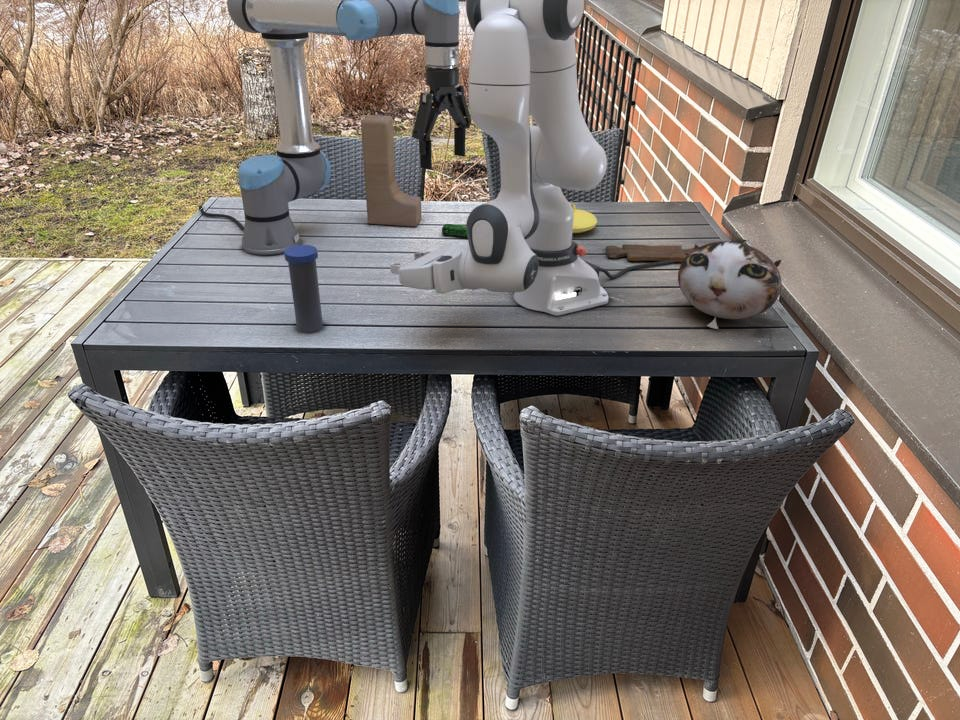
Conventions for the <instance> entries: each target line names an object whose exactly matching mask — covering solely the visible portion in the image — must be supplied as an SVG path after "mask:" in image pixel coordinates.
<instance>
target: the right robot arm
mask: <svg viewBox="0 0 960 720" xmlns="http://www.w3.org/2000/svg"><path fill="white" fill-rule="evenodd" d="M585 4H586V3H585V0H466V1H465V12H466V18H467V21H468V24H469V26H470V29H471V30H472V32H473V37H472V41H471V47H470V48H471V49H470V56H469V65H468V86H467V87H468V88H467V89H468V90H467V91H468V94H467V97H468V98H467V99H468V109H469V113H470V117H471V120H472V121H473V122H474V124H475V125H476V127H477V128H478V129H480V131H482V132H483V133H485V134H486V135H488V136H490V137H491V138H492V139H493V141H494V142H495V143H496V146H497V148H498V153H499V171H500V189H499V192H498V194H497V196H496V198H494V199H492V200H488V201H486V202H484V203H482V204H480V205H477V206H475V207H474V208H473V209H472V210H471V212H470V213H469V215H468V216H467V220H466V225H465V226H466V229H467V236H468V237H467V241H468V244H451V243H449V244H444V245H442V246H439V247H437V248H436V249H434V250H429V251H428V250H427V251H417V252H415V253H414V254H413V257H414V260H412V261H410V262H408V263H406V264H404V265H402V264H401V263H397V262H396V263H393V264H390V266H389V270H390V273H391V274H392V275H393V274H394V275H398V280H399V284H400V285H401V286H402V287H405V288H409V289H415V290H422V291H432V290H434V292H435V293H436V294H441V295H442V294H443V295H444V294H447V293H450V292H453V291H459V290H460V291H461V290H471V291H476V290H486V291H488V292H494V293H508V294H509V293H510V294H511V293H513V299H514V302H515V303H516V304H518V305H519V306H521V307H523V308H526V309H528V310H532V311H537V312H544V313H547V314H549V315H552V316H557V317H558V316H563V315H567V314H570V313H575V312H579V311H583V310H587V309H592V308H595V307H600V306H604V305H608V303H609V294H608V292H607V290H606V289H604V287H602V286H601V283H600V273H604V275H605V276H606V277H607V278H609V279H611V280H615V279H618V278H620V277H621V276H622V275H623V274H625V273H627V272H629V271H632V270H635V269H641V268H648V267H656V266H662V265H668V264H675V263H676V262H675V261H673V260H666V261H653V262H648V263H641V264H635V265H631V266H628V267H625V268H623V269H622V270H621V271H619V272H617V273H616V274H611V272H609V271H608V270H607V269H605V268H602V267H600V266H599V265H596V264H594V263H592V262H589V261H587V260H584V259H582V257H586V255H587V249H586V248H585V247H583V246H582V245H579V244H578V243H577V242H576V241H574V240H573V233H572V232H573V219H574V212H573V208H572V206H571V205H570V204H571V203H570V202H569V201H568V200H567V198H566V197H565V195H564V193H563V191H562V189H564V190H567V191H581V192H585V191H586V192H588V191H591V190H594V189H595V188H596V187H597V186H599V184H600V183H601V182H602V180H603V179H604V177H605V175H606V171H607V168H608V167H607V166H608V158H607V153H606V151H605V149H604V148H603V147H602V146H601V144H599V142H598V141H597V140H596V139H595V138H594V136H593V135H592V133H591V131H590V129H589V127H588V125H587V123H586V121H585V120H586V119H585V117H584V115H583V112H582V109H581V106H580V99H579V89H578V76H577V75H578V71H577V51H576V50H577V49H576V40H575V32H576V31H577V30H578V29H579V27H580V26H581V23H582V21H583V18H584V12H585ZM530 117H531V118H532V119H533V120H534V121H535V123H536V124H537V125H531V124H530V123H531V122H530ZM739 237H740V236H738V237H736V238H734V239H733V240H730V241H729V242H739V241H741V240H742V239H739Z"/></svg>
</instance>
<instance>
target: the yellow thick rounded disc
mask: <svg viewBox="0 0 960 720" xmlns="http://www.w3.org/2000/svg"><path fill="white" fill-rule="evenodd" d="M570 205H571V206H572V208H573V212H574V219H573V232H572V234H580V233H584V232H585V233H586V232H587V231H591V230H592V229H594V228H596V226H597V223H598V219H597V217H596V215H595V214H593V213H591V212H589V211H587V210H584V209H578V208H576V205H575V204H571V203H570Z"/></svg>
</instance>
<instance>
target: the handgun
mask: <svg viewBox="0 0 960 720" xmlns="http://www.w3.org/2000/svg"><path fill="white" fill-rule="evenodd" d="M441 235H446V236H454V237H462V238H468V236H467V229H466V225H459V224H453V223H445V224H443V226H442V227H441Z"/></svg>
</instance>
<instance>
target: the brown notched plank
mask: <svg viewBox="0 0 960 720" xmlns="http://www.w3.org/2000/svg"><path fill="white" fill-rule="evenodd" d="M605 250H606V251H605V252H606V256H607V257H608V259H614V260H615V259H620V258H625V257H626V259H627V261H628V262H644V261H646V262H649V261H651V262H652V261H653V262H660V261H666V260H673V261H675V262H674V263H682V261H683V260H684V259H685V257H686V256H687V255H688V254H689V253H691V252H692V251H693V250H694V247H692V248H686V249H683V246H682V245H678V244H677V245H674V244H673V245H672V244H671V245H670V244H669V245H668V244H667V245H666V244H663V245H662V244H661V245H659V244H658V245H650V244H649V245H648V244H625V243H624V244H622V245H621V247H619V246H617V245H606V246H605Z"/></svg>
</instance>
